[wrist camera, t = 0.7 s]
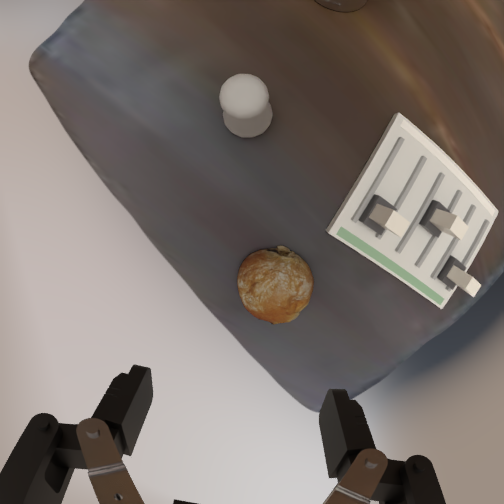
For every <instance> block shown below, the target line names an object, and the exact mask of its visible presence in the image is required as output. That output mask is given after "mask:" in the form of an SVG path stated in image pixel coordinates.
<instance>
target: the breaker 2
mask: <svg viewBox="0 0 504 504" xmlns="http://www.w3.org/2000/svg"><path fill="white" fill-rule="evenodd" d="M419 225H421V226H422V227H423V228H424V229H425V230H427V231H428V232H429V233H430V234H431V235H433V236H435V237H437V238H439V236H440V234H441V233H442V232H444V233H446V234H449V235H451V236H453V237H455V238H457V239H459V240H462V239H463V237H464V235H465V233H466V231H467V230H468V228H469V227H468V226H467V225H466V224H465V223H464V222H463V220H462V219H461V218H460V217H458V216H457V215H455V214H452V213H451V212H450V211H449V210H448V209H447V208H445V207H444V206H443V205H442V204H441V203H440V202H439V201H435V200H432V201H431V203H430V205H429V206H428V208H427V210H426V212H425V213H424V215H423V217H422V219H421V220H420V222H419Z"/></svg>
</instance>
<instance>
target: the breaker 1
mask: <svg viewBox="0 0 504 504" xmlns="http://www.w3.org/2000/svg"><path fill="white" fill-rule="evenodd" d="M396 210H397V208H395V207H394V206H393V205H391V204H390V203H389V202H387V201H386V200H385V199H383V198H382V197H381V196H379V195H375V194H374V195H373V197H372V198H371V200H370V202H369V203H368V205H367V207H366V208H365V210H364V211H363V213H362V215H361V216H360V218H359V221H360V222H362V223H363V224H365V225H366V226H367V227H369V228H370V229H372V230H373V231H375V232H376V233H378V234H379V235H382V233H383V232H384V230H385V229H387V230H388V231H390V232H392V233H394V234H395V235H397V236H399V237H400V238H401V237H402V236H403V234H404V233H405V231H406V229H407V228H408V226H409V224H410V222H409V221H407V220H406V219H405V218H404V217H402V216H401V215H400V214H399V213H397V212H396Z"/></svg>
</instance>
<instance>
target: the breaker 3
mask: <svg viewBox="0 0 504 504" xmlns="http://www.w3.org/2000/svg"><path fill="white" fill-rule="evenodd" d="M465 270H466V267H465V266H464V265H463V264H462V263H461V262H460V261H459V260H457V259H456V258H455V257H453V256H451V255H450V256H449V258H448V260H447V261H446V263H445V265H444V266H443V268H442V269H441V271H440V273H439V274H438V276H437V278H438V279H439V280H440V281H442V282H443V283H444V284H445V285H447V286H448V287H449V288H451V289H452V290H453V289H454V287H455V286H456V285H458V286H459V287H460V288H462V289H463V290H464V291H466V292H467V293H469V294H470V295H471V296H473V297H474V296H475V295H476V293H477V291H478V290H479V288H480V287H481V284H479V283H478V282H477V281H476V280H475V279H474V278H473V277H472V276H470V275H469V274H467V273H466V272H464V271H465Z"/></svg>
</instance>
